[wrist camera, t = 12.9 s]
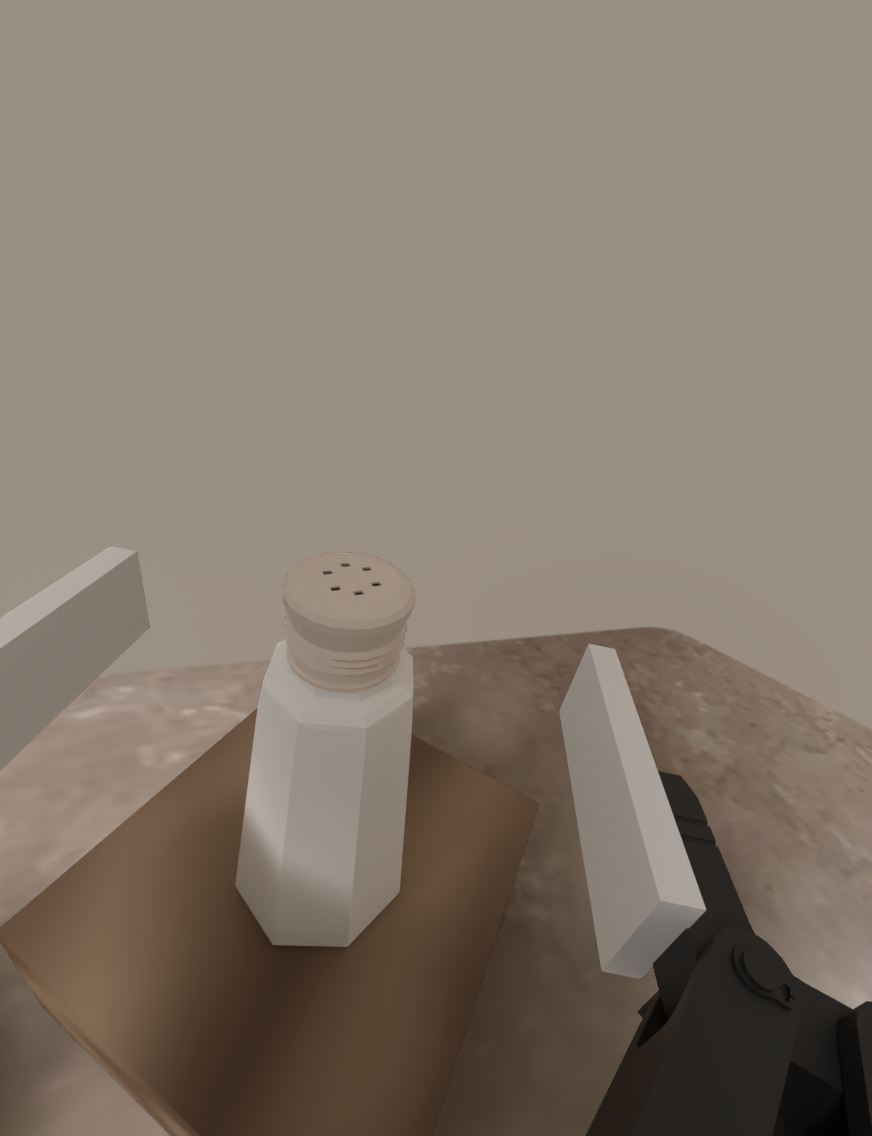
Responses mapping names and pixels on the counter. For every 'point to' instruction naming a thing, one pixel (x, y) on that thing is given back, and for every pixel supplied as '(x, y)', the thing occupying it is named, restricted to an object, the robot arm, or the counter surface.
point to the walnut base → (274, 960)
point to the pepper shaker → (331, 755)
